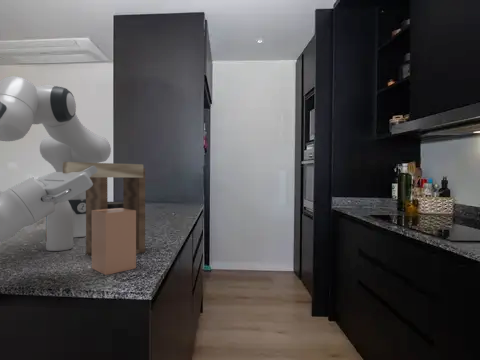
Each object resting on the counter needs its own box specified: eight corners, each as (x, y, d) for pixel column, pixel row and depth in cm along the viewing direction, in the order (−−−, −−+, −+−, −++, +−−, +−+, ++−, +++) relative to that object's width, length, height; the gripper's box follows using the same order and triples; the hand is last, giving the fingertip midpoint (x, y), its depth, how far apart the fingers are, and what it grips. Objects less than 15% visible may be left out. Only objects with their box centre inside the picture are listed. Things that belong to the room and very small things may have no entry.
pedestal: (91, 268, 86) (91, 210, 86) (121, 262, 92) (121, 208, 92) (105, 275, 81) (105, 213, 80) (136, 268, 86) (136, 210, 86)
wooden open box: (86, 254, 101) (85, 167, 100) (129, 246, 111) (129, 168, 110) (100, 260, 94) (100, 167, 93) (145, 252, 104) (145, 168, 103)
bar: (62, 177, 78) (62, 162, 78) (136, 177, 92) (136, 164, 92) (68, 177, 76) (68, 161, 76) (143, 177, 90) (143, 164, 90)
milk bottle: (78, 247, 109) (78, 186, 109) (57, 252, 102) (56, 187, 102) (62, 245, 113) (62, 186, 112) (40, 250, 106) (40, 186, 105)
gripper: (42, 188, 65) (103, 155, 73) (14, 185, 79) (68, 158, 87) (59, 215, 67) (117, 180, 75) (29, 207, 81) (81, 179, 90)
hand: (90, 168), depth 81 cm, fingers closed on bar, 3 cm apart
